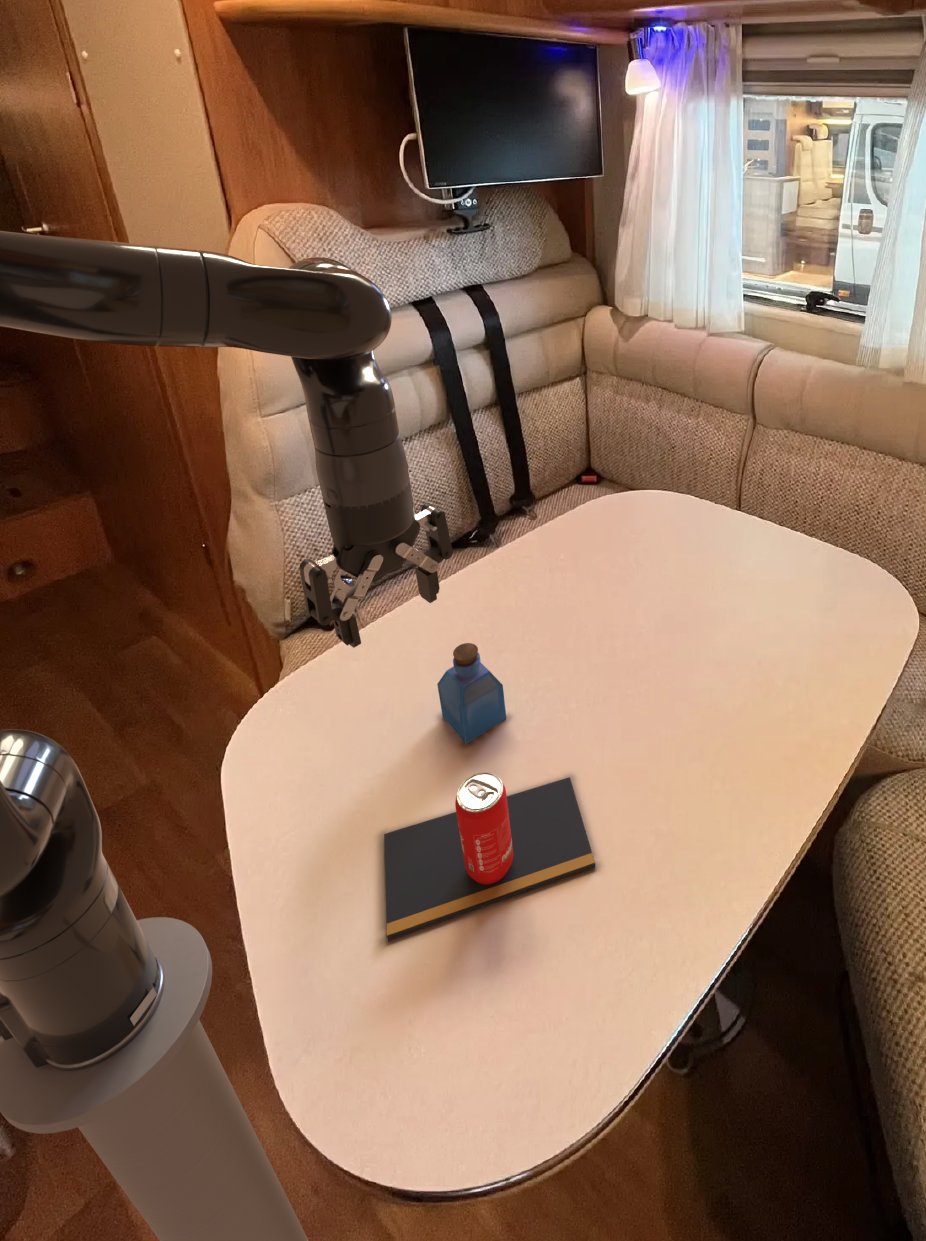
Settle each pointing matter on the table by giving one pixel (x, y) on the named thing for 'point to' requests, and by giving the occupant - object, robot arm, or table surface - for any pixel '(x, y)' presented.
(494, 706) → the perfume bottle
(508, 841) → the beverage can
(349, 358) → the robot arm
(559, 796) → the front mat
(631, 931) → the table surface
